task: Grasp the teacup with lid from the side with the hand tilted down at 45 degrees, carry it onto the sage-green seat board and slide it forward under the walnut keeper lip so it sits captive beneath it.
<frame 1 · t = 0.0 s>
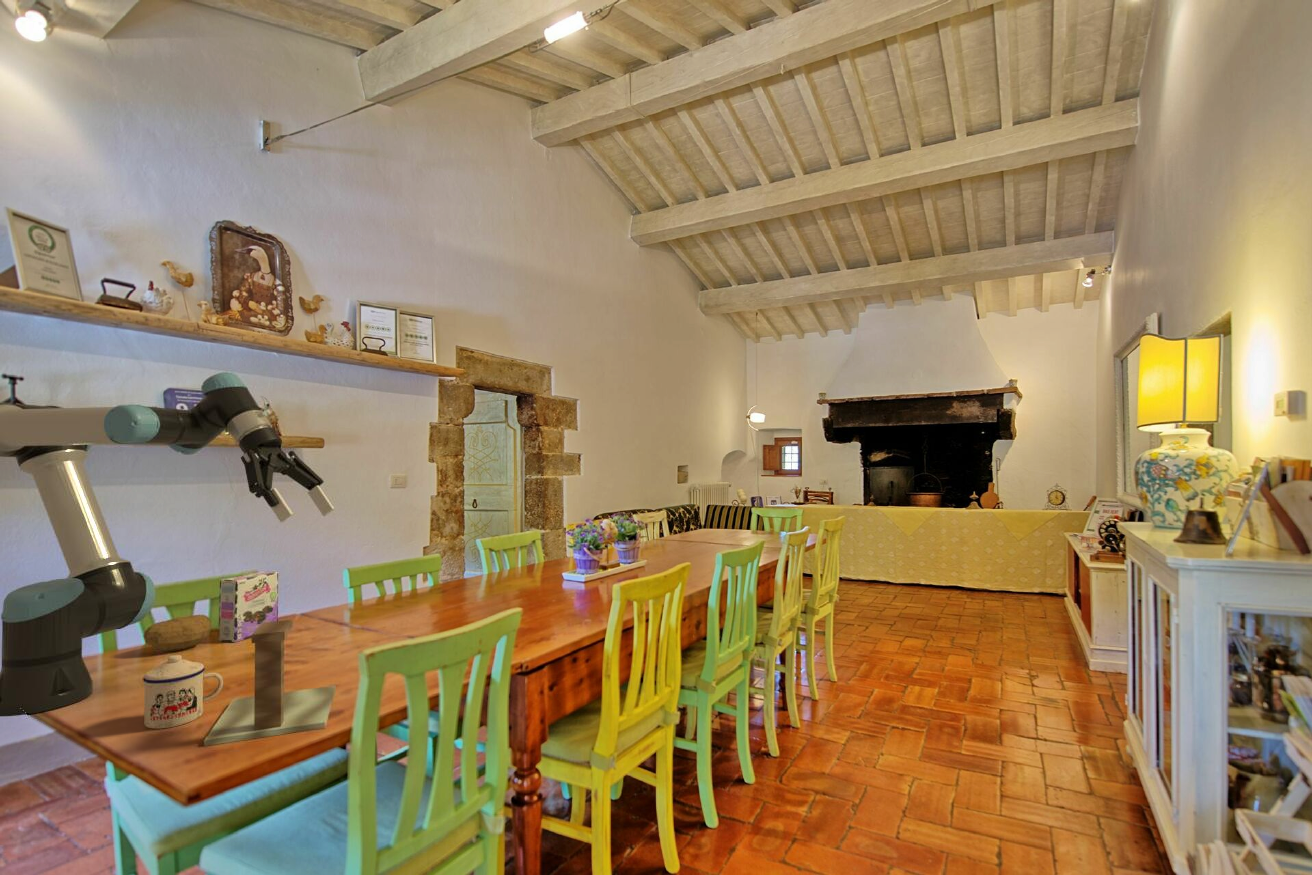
hand: (309, 515, 136), 36 cm above the table, tool tilted 35°, fingers open, 13 cm apart
potato: (178, 650, 162), on the table
teacup with lid: (183, 718, 119), on the table
candy box: (249, 636, 175), on the table
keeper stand: (276, 715, 119), on the table
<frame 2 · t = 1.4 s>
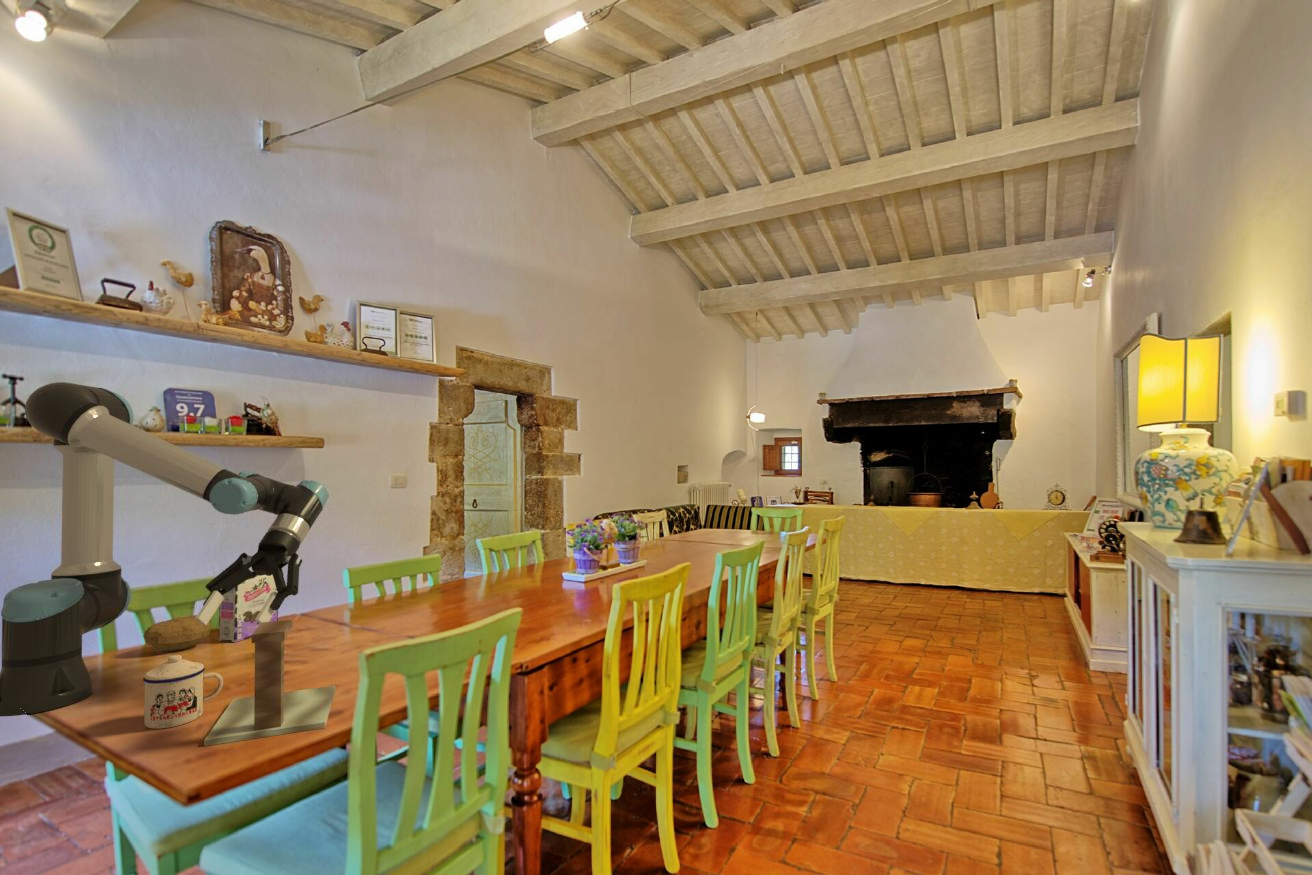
hand: (230, 622, 130), 15 cm above the table, tool tilted 45°, fingers open, 13 cm apart
nothing on the table moved.
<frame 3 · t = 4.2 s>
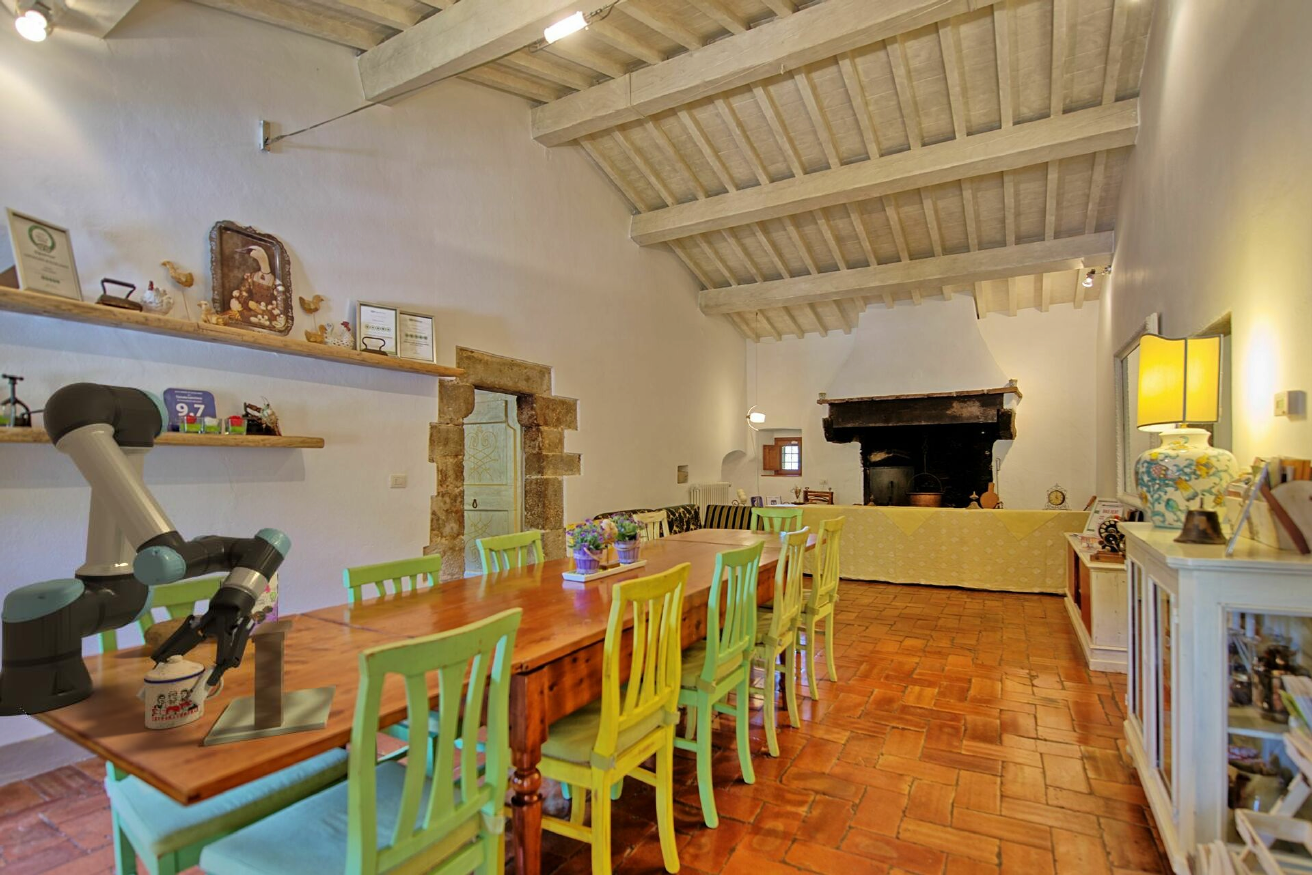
hand: (168, 700, 116), 4 cm above the table, tool tilted 45°, fingers open, 10 cm apart
teacup with lid: (184, 718, 118), on the table, touching gripper
everything else where it was.
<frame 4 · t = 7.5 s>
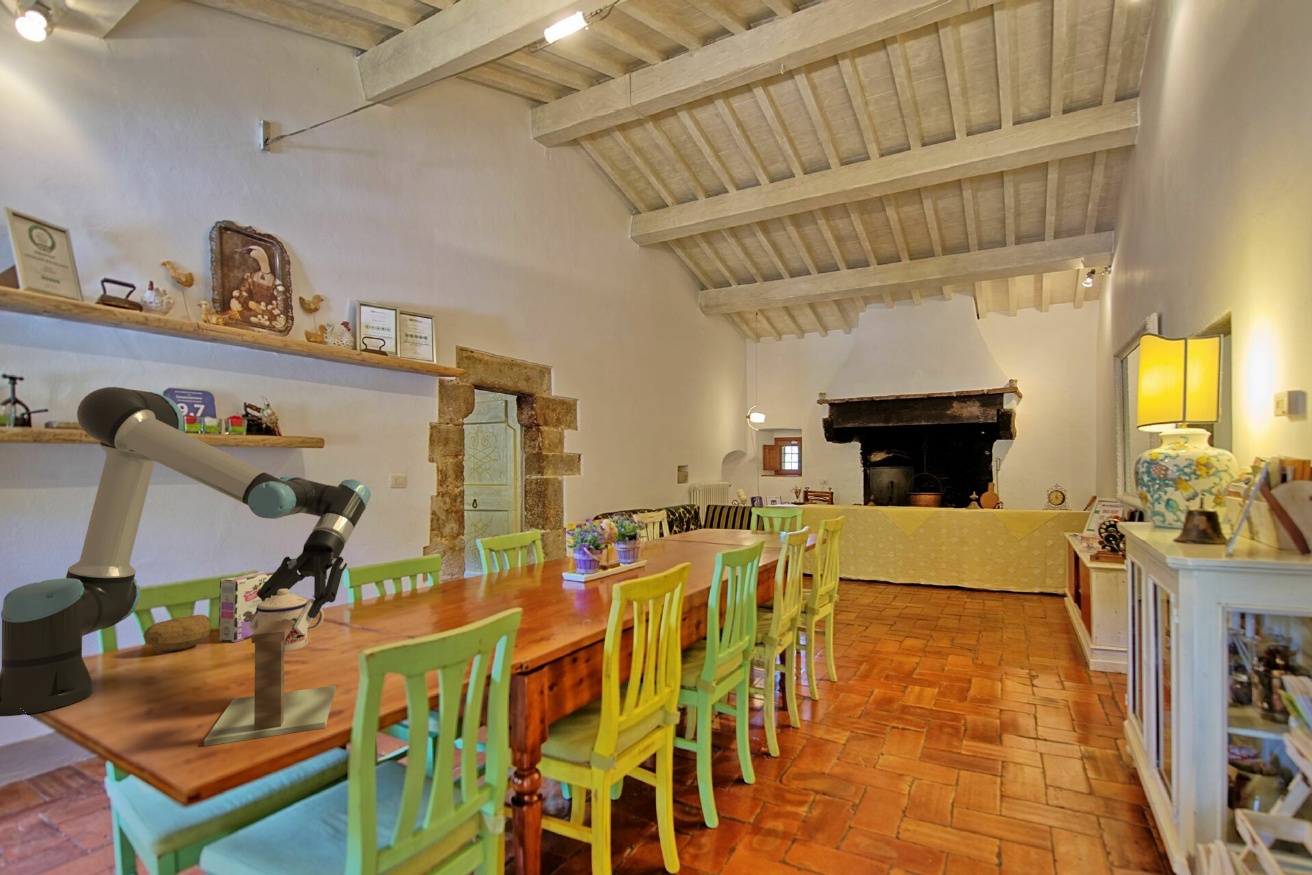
hand: (276, 630, 126), 14 cm above the table, tool tilted 45°, fingers closed on teacup with lid, 9 cm apart
teacup with lid: (291, 647, 128), point 10 cm above the table, touching gripper
everything else where it was.
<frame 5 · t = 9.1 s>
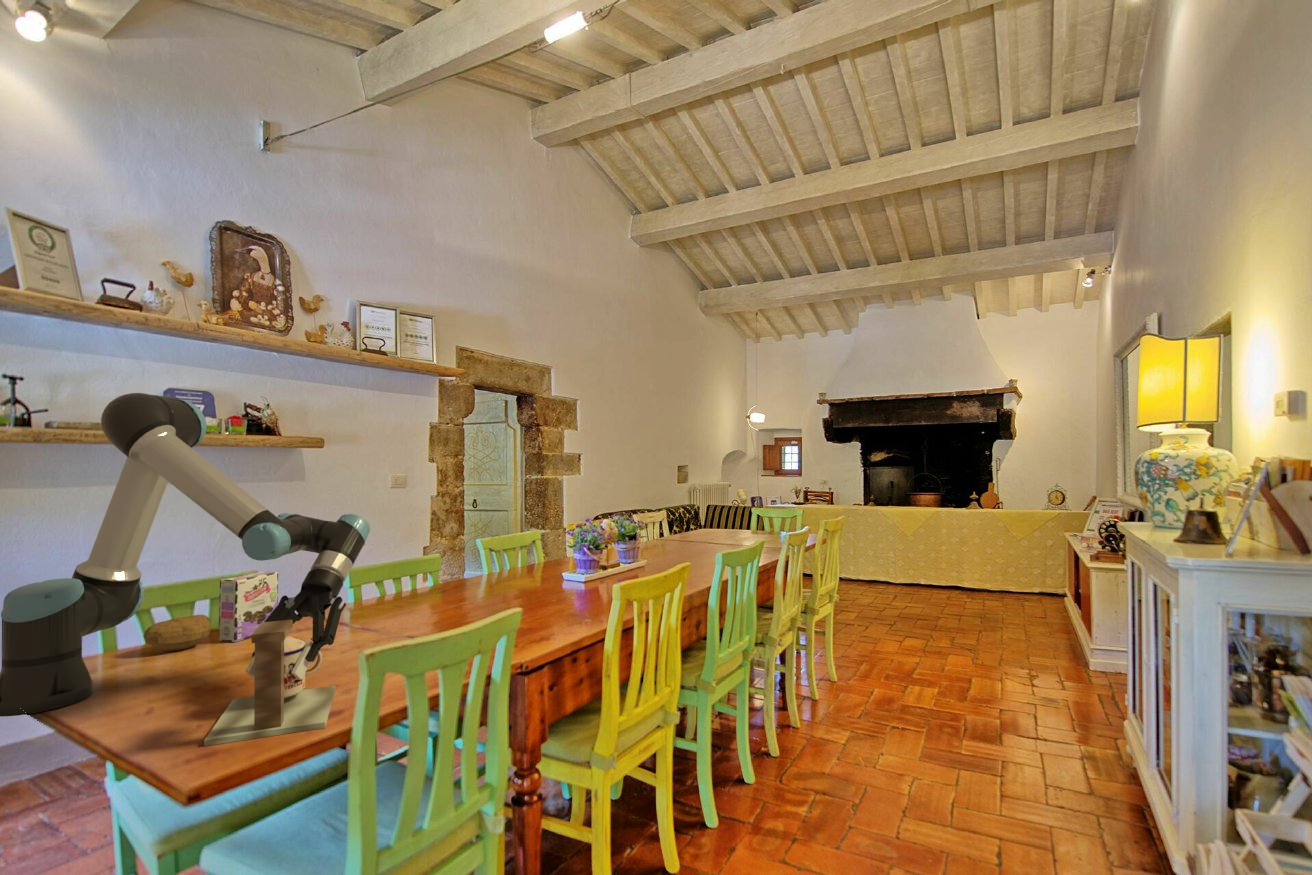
hand: (273, 675, 123), 6 cm above the table, tool tilted 45°, fingers closed on teacup with lid, 9 cm apart
teacup with lid: (288, 691, 126), point 2 cm above the table, touching gripper
everything else where it was.
when the fingers open (6 cm above the table, at t = 10.5 s): teacup with lid drops 1 cm, resting on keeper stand.
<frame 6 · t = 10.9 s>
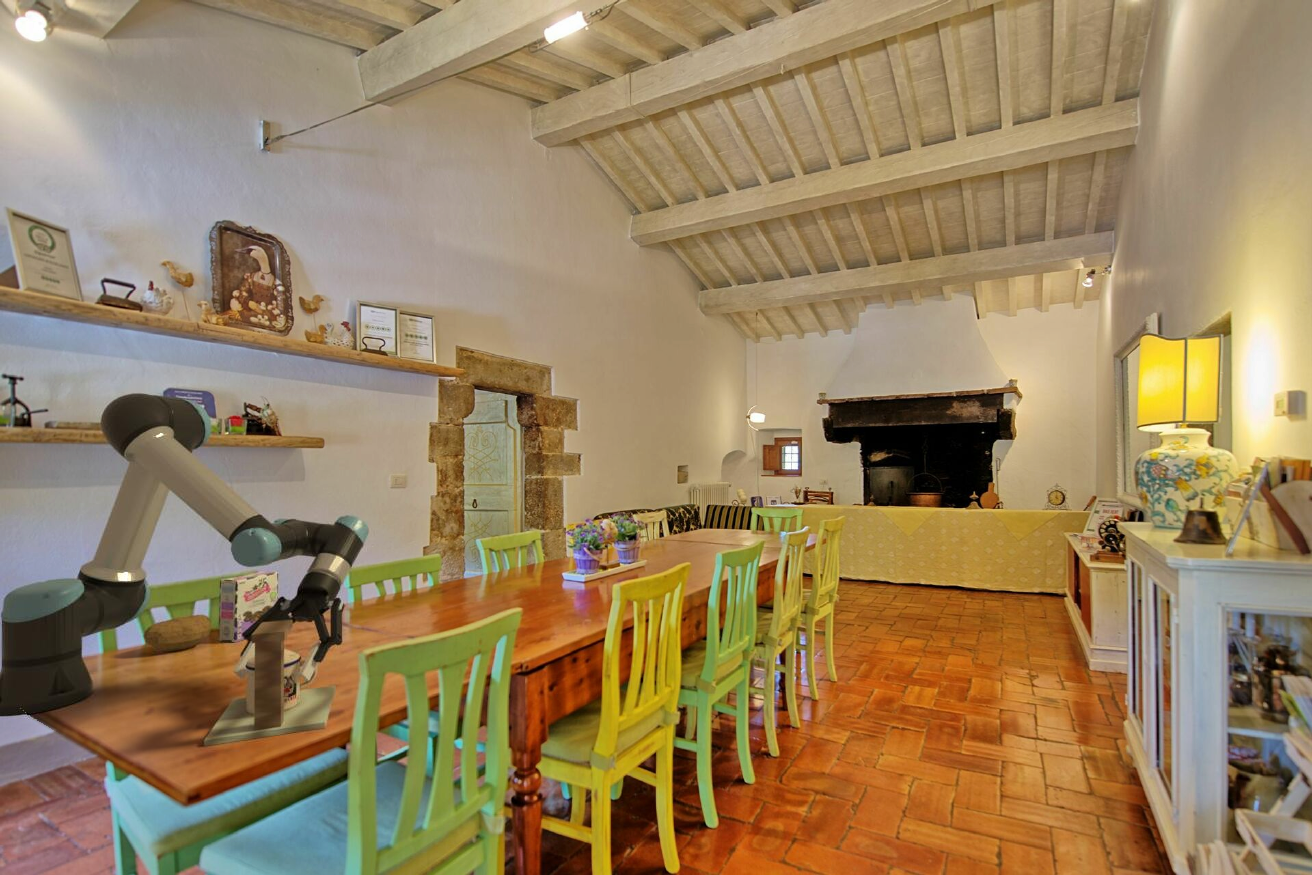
hand: (270, 676, 120), 7 cm above the table, tool tilted 45°, fingers open, 13 cm apart
teacup with lid: (282, 705, 122), point 1 cm above the table, touching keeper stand
everything else where it was.
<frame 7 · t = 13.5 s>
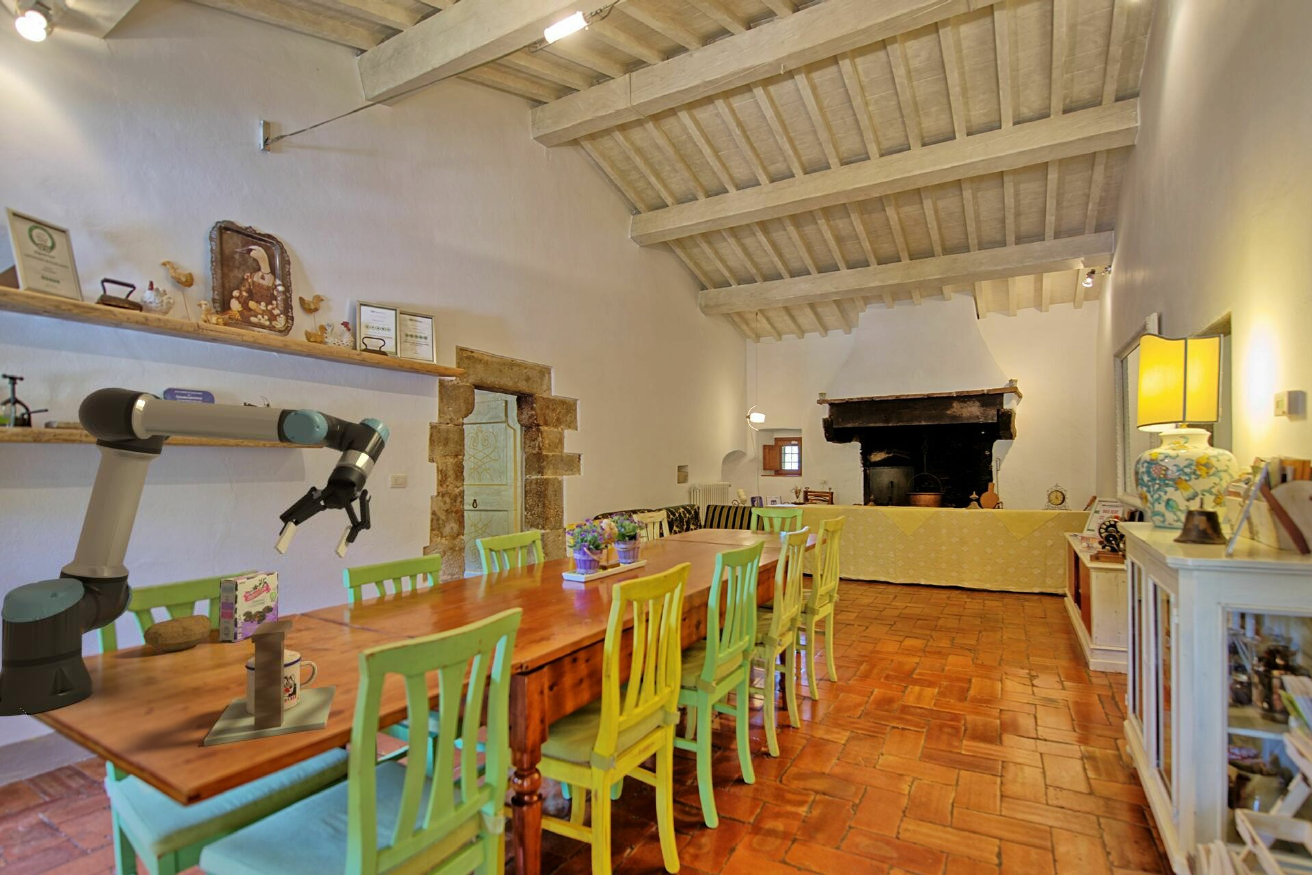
hand: (308, 552, 135), 28 cm above the table, tool tilted 40°, fingers open, 13 cm apart
nothing on the table moved.
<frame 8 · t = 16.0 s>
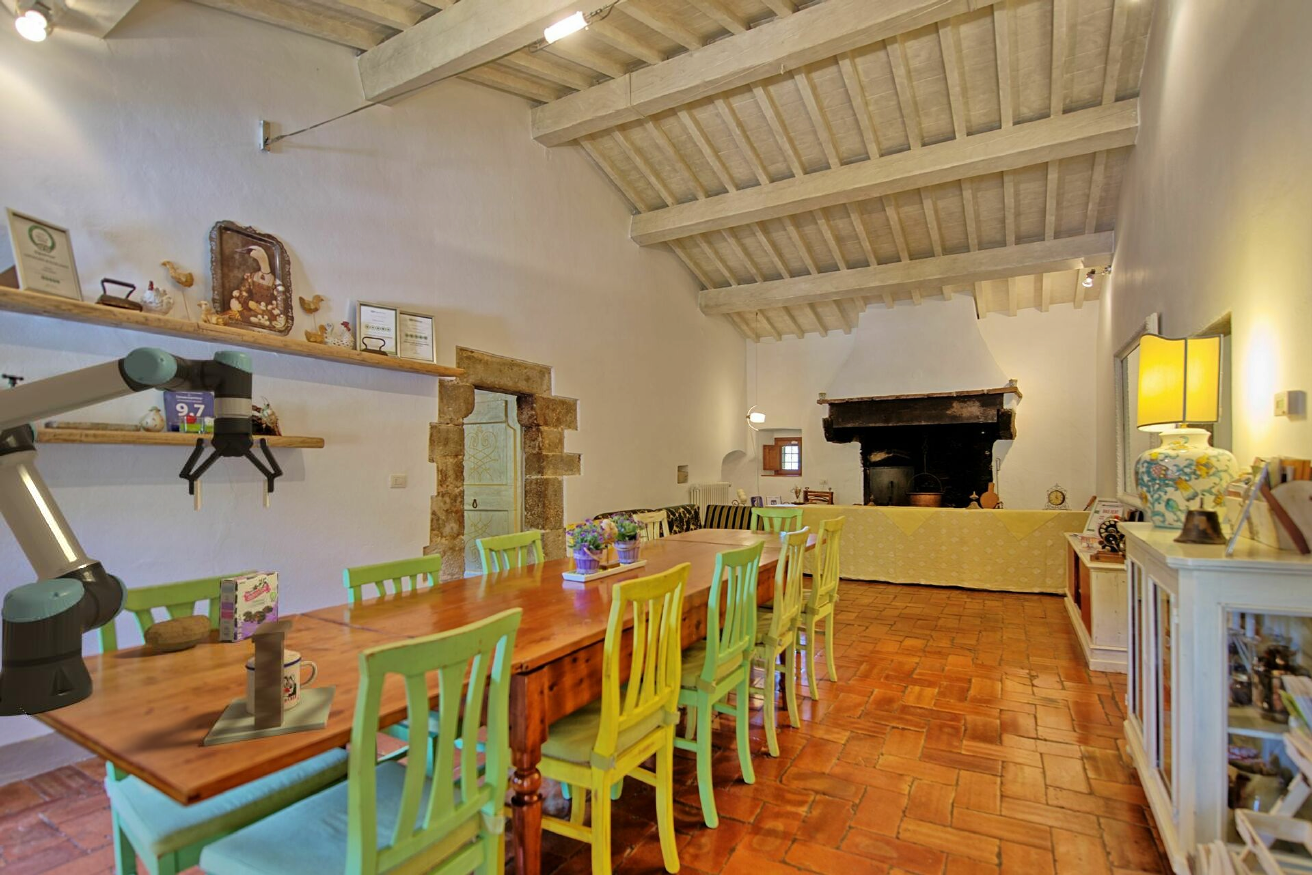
hand: (232, 508, 149), 37 cm above the table, tool pointing down, fingers open, 13 cm apart
nothing on the table moved.
at the end: teacup with lid inside the target area (0.6 cm from its centre), point 0.8 cm above the table; teacup with lid tilted 0°; the gripper is holding nothing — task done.
